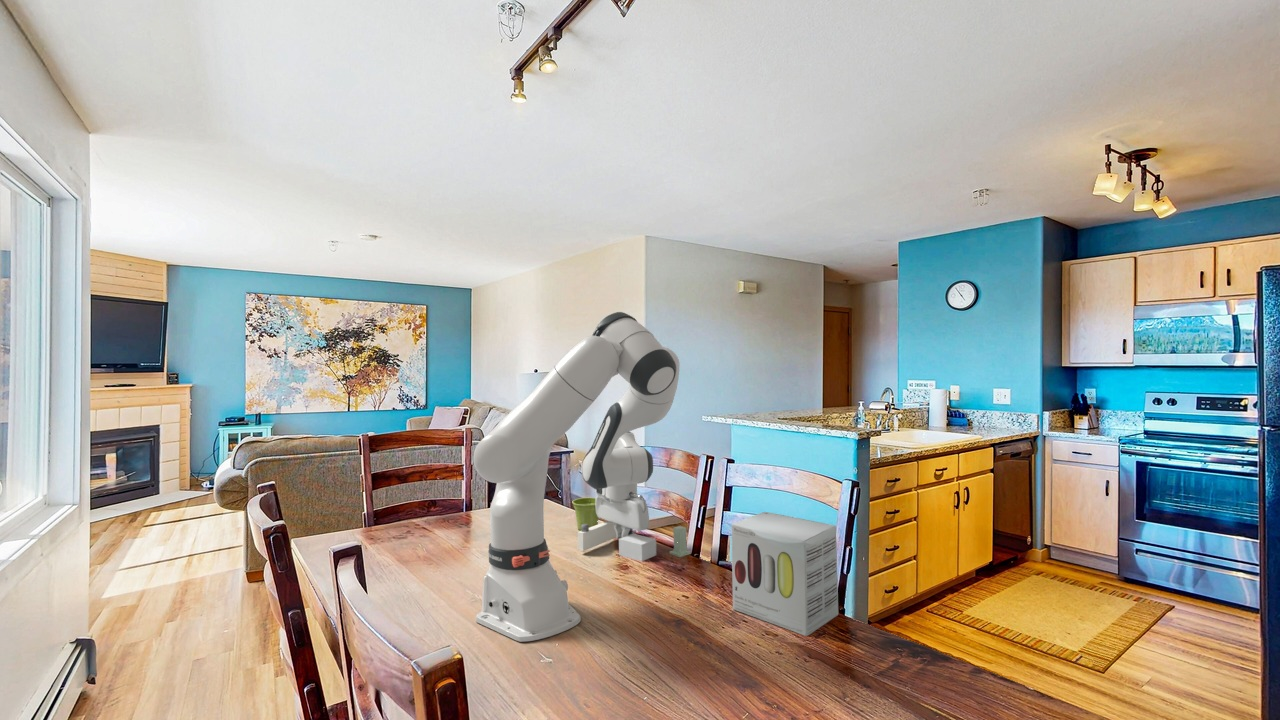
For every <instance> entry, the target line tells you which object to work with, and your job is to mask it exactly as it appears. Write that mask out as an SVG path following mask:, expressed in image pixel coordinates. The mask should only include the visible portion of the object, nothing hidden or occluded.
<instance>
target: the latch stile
mask: <svg viewBox="0 0 1280 720" xmlns="http://www.w3.org/2000/svg"><path fill="white" fill-rule="evenodd" d="M672 529H673V550H669V554H670V555H672V556H675V557H677V558H678V557H679V558H683V557H686V556H688V555H692V551H690V550H687V527H685V526H681V525H678V526H674V527H673V528H672ZM677 542H678V543H677Z"/></svg>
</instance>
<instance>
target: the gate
mask: <svg viewBox="0 0 1280 720" xmlns="http://www.w3.org/2000/svg"><path fill="white" fill-rule="evenodd" d="M621 527H622V526H621ZM622 530H623V529H622ZM576 533H577V536H576V537H577V551H581V552H585V551H587V550H590V549H592V548H595V547H597V546H599V545H602V544H604V543H606V542H609V541H611V540H614V539H617V534H616V531H615V529H614V523H613V522H610V521H607V520H605V521H604V522H601V523H598V525H595V526H593V527H590V528H589V525H588V524H582V525H581V530H579V531H577V532H576Z"/></svg>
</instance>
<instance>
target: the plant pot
mask: <svg viewBox="0 0 1280 720" xmlns="http://www.w3.org/2000/svg"><path fill="white" fill-rule="evenodd" d="M595 499H596V497H581V498H576V499H575V498H574V499H573V500H572V501H571V504H573V508H574V511H575V519H576V526H577V530H579V531H581V525H582V524H588V525H589V528H590V527H593V526H595V525H598V524H599V518H598V516H597V514H596V505H595ZM597 521H598V522H597Z"/></svg>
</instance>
